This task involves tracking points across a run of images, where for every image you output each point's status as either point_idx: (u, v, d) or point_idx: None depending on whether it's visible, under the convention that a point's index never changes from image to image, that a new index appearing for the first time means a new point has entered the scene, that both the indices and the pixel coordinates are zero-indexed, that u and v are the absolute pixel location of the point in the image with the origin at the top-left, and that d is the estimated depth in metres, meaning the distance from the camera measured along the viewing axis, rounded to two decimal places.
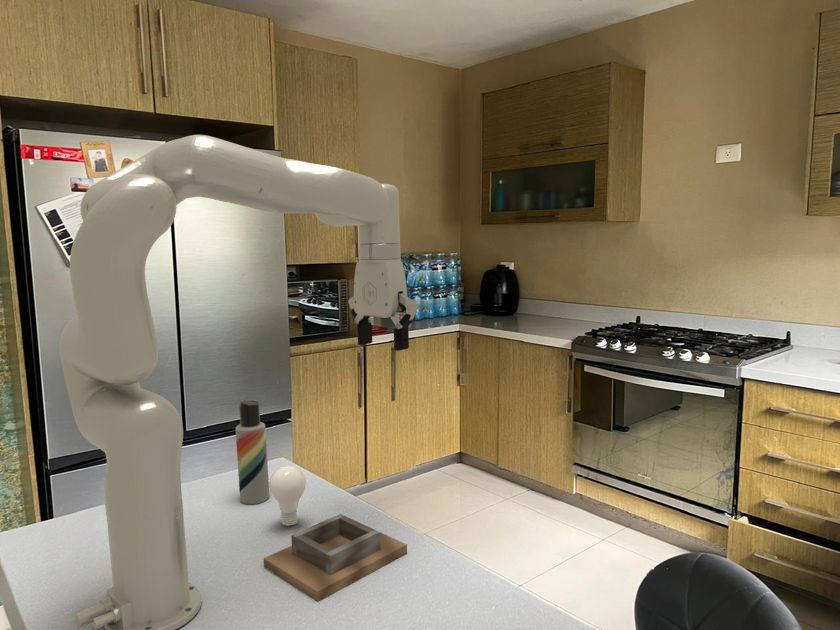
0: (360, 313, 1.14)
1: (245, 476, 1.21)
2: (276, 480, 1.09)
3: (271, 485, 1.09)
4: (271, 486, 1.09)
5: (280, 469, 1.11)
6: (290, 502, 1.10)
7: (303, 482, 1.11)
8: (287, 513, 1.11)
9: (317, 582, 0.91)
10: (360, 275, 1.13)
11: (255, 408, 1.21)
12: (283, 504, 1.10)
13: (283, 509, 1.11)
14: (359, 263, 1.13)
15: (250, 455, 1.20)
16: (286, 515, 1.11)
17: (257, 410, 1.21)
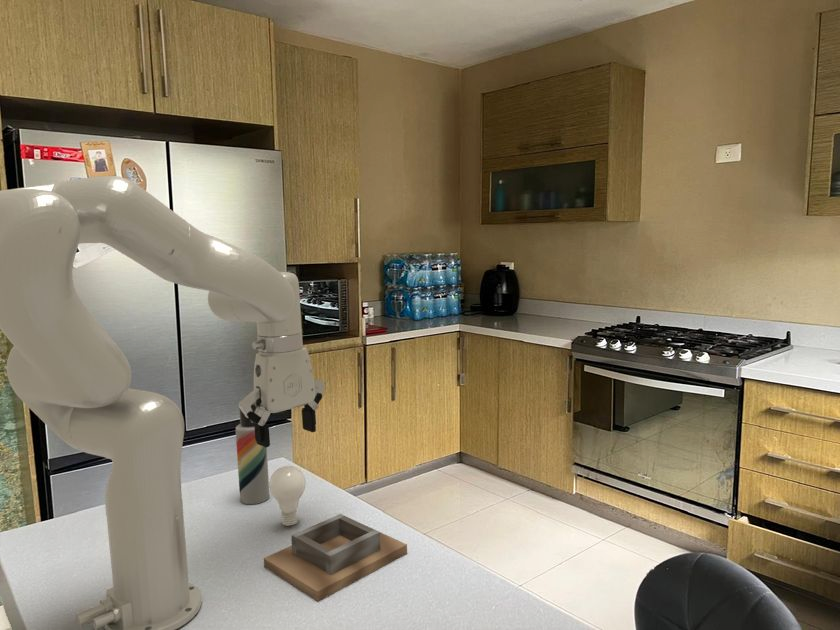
0: (280, 410, 1.06)
1: (245, 476, 1.21)
2: (276, 480, 1.09)
3: (271, 485, 1.09)
4: (271, 486, 1.09)
5: (280, 469, 1.11)
6: (290, 502, 1.10)
7: (303, 482, 1.11)
8: (287, 513, 1.11)
9: (317, 582, 0.91)
10: (278, 369, 1.05)
11: (255, 408, 1.21)
12: (283, 504, 1.10)
13: (283, 509, 1.11)
14: (275, 357, 1.05)
15: (250, 455, 1.20)
16: (286, 515, 1.11)
17: None
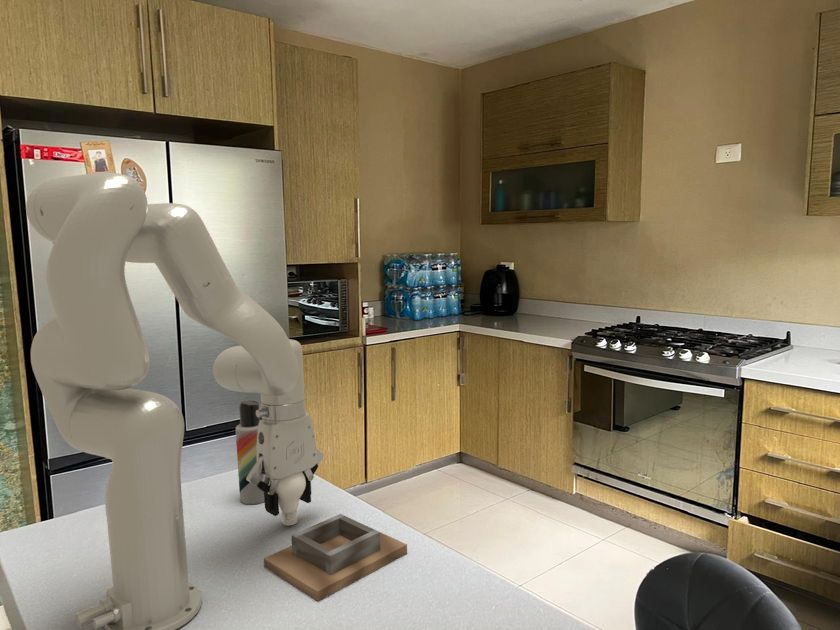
0: (282, 477, 1.07)
1: (245, 476, 1.21)
2: None
3: None
4: None
5: None
6: (290, 502, 1.10)
7: (303, 482, 1.11)
8: (287, 513, 1.11)
9: (317, 582, 0.91)
10: (281, 437, 1.07)
11: (255, 408, 1.21)
12: (284, 504, 1.10)
13: (283, 509, 1.11)
14: (278, 425, 1.06)
15: (250, 455, 1.20)
16: (286, 515, 1.11)
17: None
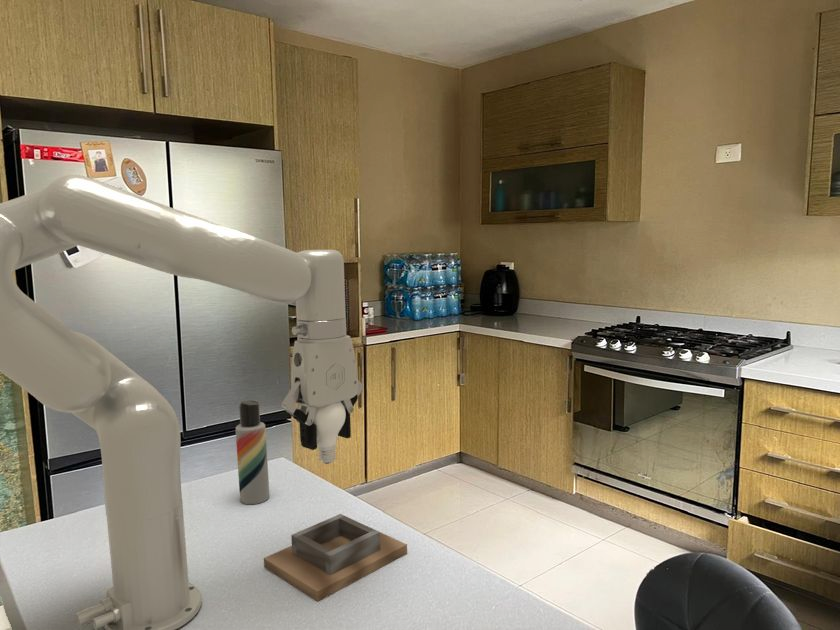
0: (321, 404, 0.94)
1: (245, 476, 1.21)
2: None
3: None
4: None
5: None
6: (329, 435, 0.97)
7: (344, 413, 0.97)
8: (326, 448, 0.97)
9: (317, 582, 0.91)
10: (321, 358, 0.93)
11: (255, 408, 1.21)
12: (322, 437, 0.97)
13: (321, 443, 0.97)
14: (317, 344, 0.93)
15: (250, 455, 1.20)
16: (324, 450, 0.98)
17: (257, 410, 1.21)
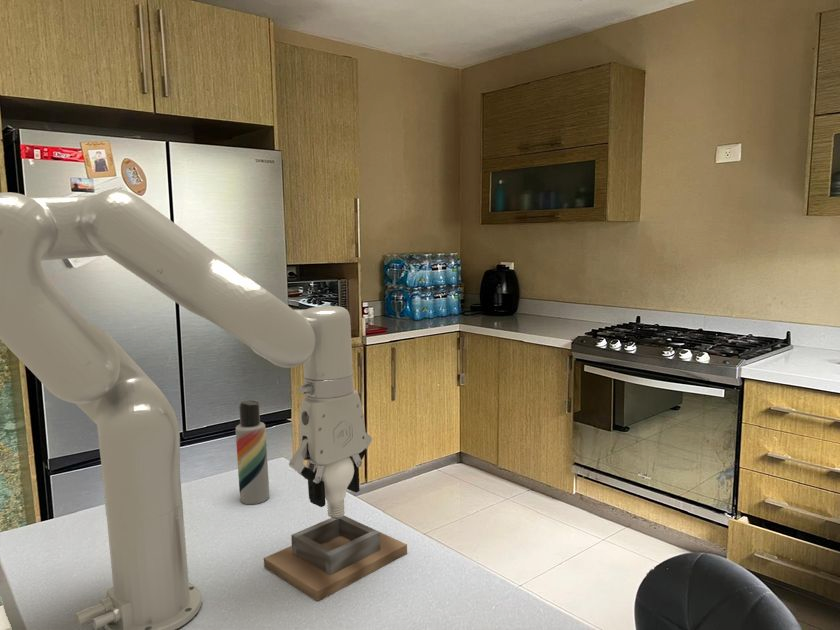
0: (329, 462, 0.94)
1: (245, 476, 1.21)
2: None
3: None
4: None
5: None
6: (338, 491, 0.97)
7: (352, 468, 0.97)
8: (334, 504, 0.98)
9: (317, 582, 0.91)
10: (328, 417, 0.93)
11: (255, 408, 1.21)
12: (330, 493, 0.97)
13: (329, 499, 0.97)
14: (324, 403, 0.93)
15: (250, 455, 1.20)
16: (333, 506, 0.98)
17: (257, 410, 1.21)
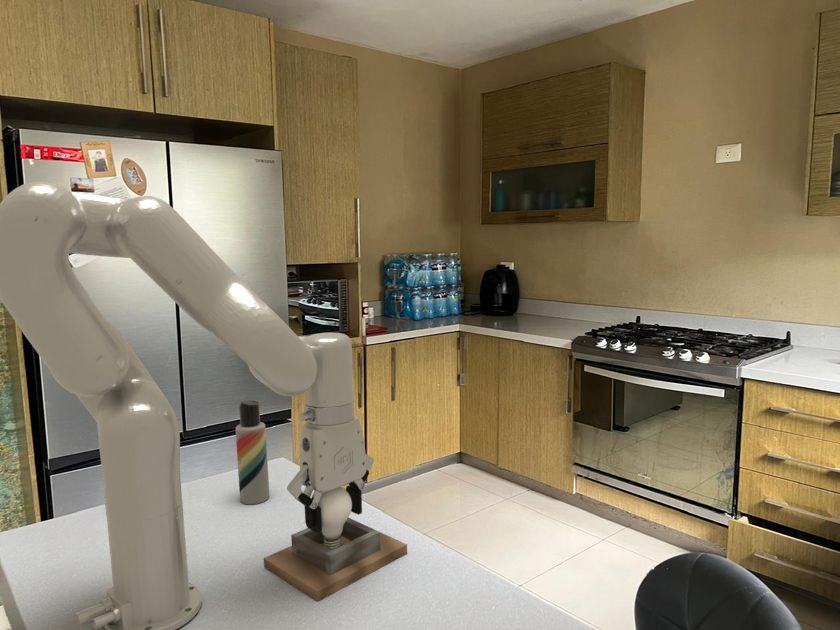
0: (329, 489, 0.94)
1: (245, 476, 1.21)
2: (320, 501, 0.96)
3: None
4: None
5: None
6: (335, 527, 0.97)
7: (350, 504, 0.98)
8: (331, 539, 0.98)
9: (317, 582, 0.91)
10: (329, 444, 0.94)
11: (255, 408, 1.21)
12: (327, 528, 0.97)
13: (326, 534, 0.97)
14: (325, 430, 0.93)
15: (250, 455, 1.20)
16: (329, 541, 0.98)
17: (257, 410, 1.21)
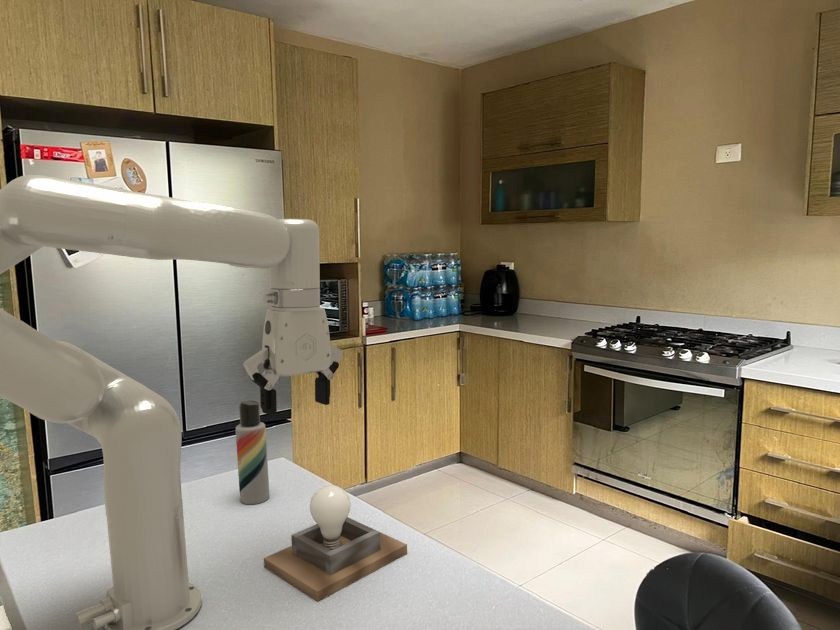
0: (290, 373, 0.93)
1: (245, 476, 1.21)
2: (318, 502, 0.96)
3: (312, 508, 0.96)
4: (312, 509, 0.96)
5: (322, 490, 0.97)
6: (334, 527, 0.97)
7: (348, 504, 0.98)
8: (330, 540, 0.98)
9: (317, 582, 0.91)
10: (291, 327, 0.93)
11: (255, 408, 1.21)
12: (326, 529, 0.97)
13: (326, 535, 0.97)
14: (287, 313, 0.93)
15: (250, 455, 1.20)
16: (329, 542, 0.98)
17: (257, 410, 1.21)
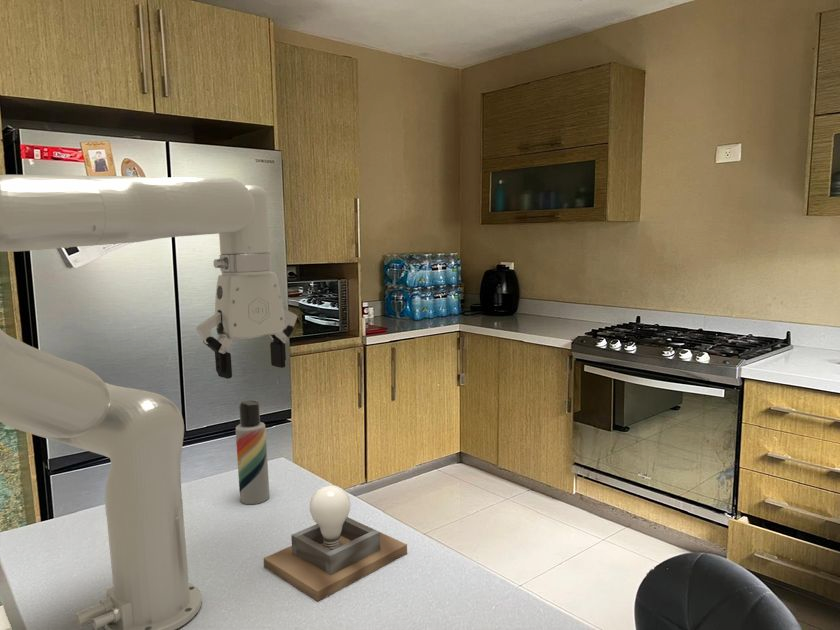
0: (243, 337, 0.95)
1: (245, 476, 1.21)
2: (318, 502, 0.96)
3: (312, 508, 0.96)
4: (312, 509, 0.96)
5: (322, 490, 0.97)
6: (334, 527, 0.97)
7: (348, 504, 0.98)
8: (330, 540, 0.98)
9: (317, 582, 0.91)
10: (242, 291, 0.95)
11: (255, 408, 1.21)
12: (326, 529, 0.97)
13: (326, 535, 0.97)
14: (238, 277, 0.94)
15: (250, 455, 1.20)
16: (329, 542, 0.98)
17: (257, 410, 1.21)
